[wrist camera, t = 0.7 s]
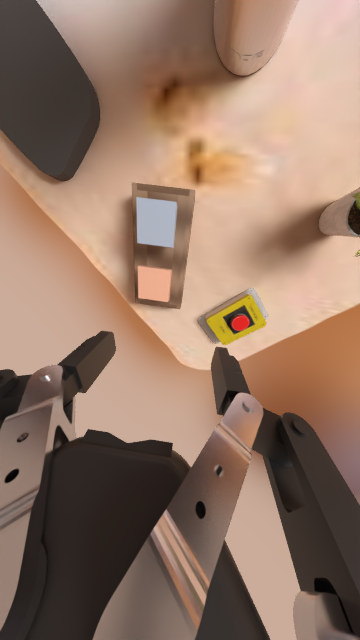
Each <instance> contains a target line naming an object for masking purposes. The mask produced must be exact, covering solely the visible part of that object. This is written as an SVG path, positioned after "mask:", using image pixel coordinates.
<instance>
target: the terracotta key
mask: <svg viewBox="0 0 360 640" xmlns="http://www.w3.org/2000/svg"><path fill="white" fill-rule="evenodd" d="M171 275H172V269H165V268H158V267H150V266H143V265H140V266H138V298H142V299H149V300H156V301H163V302H168V301H169V299H170V287H171Z"/></svg>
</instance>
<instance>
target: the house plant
mask: <svg viewBox="0 0 360 640" xmlns="http://www.w3.org/2000/svg"><path fill="white" fill-rule="evenodd" d="M319 229H320V231H321V232H322V233H323V234H326V235H338V236H350V237H360V188H358V189H356V190H354V191H353V192H351V193H349V194H347V195H346V196H344V197H342V198H340V199H339V200H337V201H335V202H333V203H332V204H330V205H329V206H328V207H327V208H326V209H325V210H324V211H323V213H322V214H321V216H320V219H319ZM359 253H360V250H359V251H358V252H357V253H356V255H358V254H359ZM356 255H355V256H356ZM358 256H360V255H358Z"/></svg>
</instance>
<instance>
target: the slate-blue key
mask: <svg viewBox="0 0 360 640" xmlns="http://www.w3.org/2000/svg"><path fill="white" fill-rule="evenodd" d="M136 204H137V243H140V244H148V245H156V246H163V247H171V248H174V240H175V229H176V217H177V206H178V205H177V202H173V201H165V200H157V199H148V198H140V197H136Z"/></svg>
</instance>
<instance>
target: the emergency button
mask: <svg viewBox="0 0 360 640" xmlns="http://www.w3.org/2000/svg"><path fill="white" fill-rule="evenodd" d="M267 318H268V314H267V312H266V310H265V308H264V306H263V304H262V302H261V300H260V298H259V296H258V294H257V292H256V290H255V289H254V288H250V289H247V290H246V291H244V292H242V293H241V294H239V295H237V296H236V297H234V298H232V299H230V300H229V301H227V302H225V303H224V304H222V305H220V306H219V307H217V308H215V309H213V310H212V311H210V312H208V313H207V314H205V315H203V316H201V317H200V318H199V319H198V322H199V324H200V325H201V326H202V328H203V329H204V331H205V332H206V333H207V335H208V336H209V337H210V339H211V340H212V342H213V343H219V342H221V343H222V344H223V345H227V344H229V343H231V342H233V341H235V340H238V339H240V338H242V337H244V336H246V335H248V334H250V333H252V332H254V331H256V330H258V329H260V328H263V327H264V326H266V321H265V320H266V319H267Z"/></svg>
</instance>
